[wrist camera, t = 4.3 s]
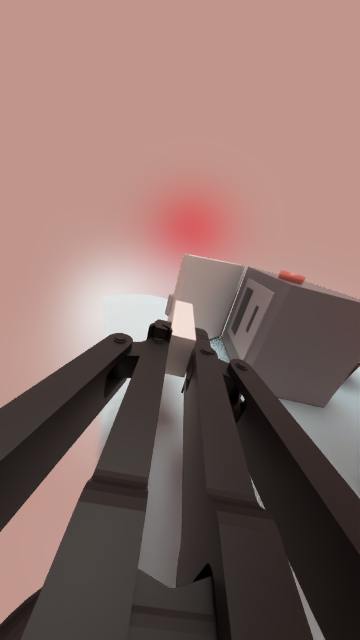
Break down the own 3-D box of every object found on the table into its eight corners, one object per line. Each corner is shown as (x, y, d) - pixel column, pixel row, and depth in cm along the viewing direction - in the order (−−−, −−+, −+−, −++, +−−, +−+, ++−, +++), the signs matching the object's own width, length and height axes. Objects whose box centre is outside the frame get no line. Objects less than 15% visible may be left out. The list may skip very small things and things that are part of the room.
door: (222, 335, 31) (248, 266, 27) (165, 353, 22) (189, 255, 18) (215, 330, 32) (239, 263, 28) (157, 346, 23) (178, 252, 19)
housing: (271, 344, 34) (307, 276, 29) (323, 407, 21) (403, 303, 16) (218, 332, 33) (245, 259, 28) (238, 389, 20) (293, 274, 15)
